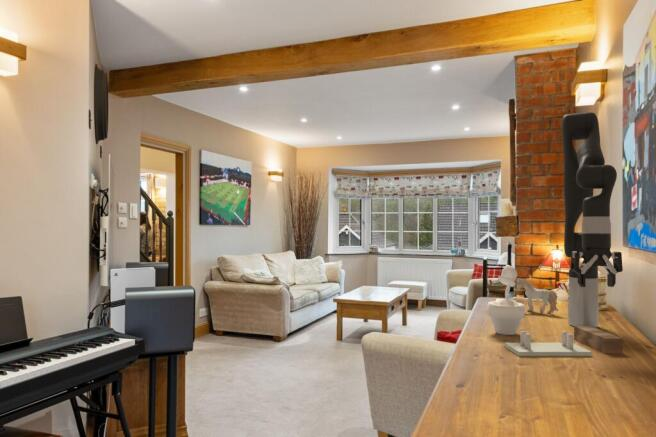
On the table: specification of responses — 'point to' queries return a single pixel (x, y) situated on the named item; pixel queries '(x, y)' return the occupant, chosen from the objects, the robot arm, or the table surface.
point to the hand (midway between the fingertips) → (596, 286)
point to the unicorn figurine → (538, 295)
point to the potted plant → (506, 306)
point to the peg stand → (547, 347)
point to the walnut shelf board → (598, 339)
